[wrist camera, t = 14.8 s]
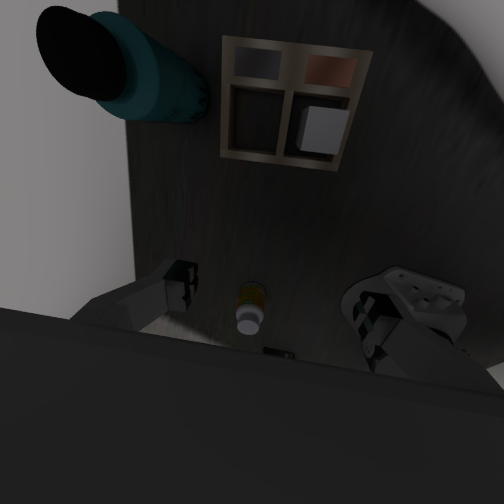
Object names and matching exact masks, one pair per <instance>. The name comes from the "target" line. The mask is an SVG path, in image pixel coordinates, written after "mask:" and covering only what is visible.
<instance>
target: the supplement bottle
mask: <svg viewBox="0 0 504 504" xmlns="http://www.w3.org/2000/svg"><path fill="white" fill-rule="evenodd" d="M264 303H265V290H264V288H263V287H262V286H261V285H259V284H257V283H247V284H245V285H244V286H243V287H242V288H241V292H240V296H239V301H238V306H237V310H236V317H237V320H238V324H237V328H238V330H239V331H240V332H241V333H243V334H247V335H252V334H255V333H257V332H258V330H259V324H260V323H261V322H262V320H263V317H264Z"/></svg>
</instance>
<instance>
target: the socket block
mask: <svg viewBox="0 0 504 504" xmlns="http://www.w3.org/2000/svg"><path fill="white" fill-rule="evenodd" d="M372 54H373V51H365V50H356V49H346V48H337V47H328V46H318V45H309V44H299V43H290V42H281V41H271V40H262V39H253V38H243V37H234V36H225V35H222V84H221V136H220V157H224V158H232V159H240V160H248V161H256V162H264V163H272V164H280V165H288V166H296V167H304V168H312V169H320V170H328V171H336V172H337V171H338V167H339V164H340V161H341V157H342V154H343V151H344V147H345V144H346V141H347V137H348V134H349V131H350V127H351V124H352V121H353V117H354V114H355V111H356V108H357V104H358V101H359V98H360V94H361V91H362V88H363V84H364V81H365V78H366V74H367V71H368V68H369V64H370V61H371V58H372ZM236 89H241V90H250V91H259V92H267V93H276V94H284V99H283V106H282V113H281V120H280V127H279V133H278V140H277V147H276V152H268V151H260V150H252V149H244V148H235V147H233V133H234V112H235V91H236ZM293 95H294V96H302V97H311V98H320V99H329V100H337V101H341V104H340V107H339V109H340V110H349V111H350V113H349V117H348V120H347V123H346V127H345V130H344V134H343V137H342V141H341V144H340V148H339V151H338V154H337V155H334V154H327V156H326V159H325V158H316V157H308V156H300V155H292V154H284V148H285V142H286V136H287V130H288V124H289V118H290V112H291V106H292V100H293Z"/></svg>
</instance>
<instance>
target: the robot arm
mask: <svg viewBox="0 0 504 504" xmlns="http://www.w3.org/2000/svg"><path fill="white" fill-rule="evenodd" d="M197 271H198V264H197V263H194V262H188V261H183V260H177V259H171V258H166V259H165V260H164V261H163V262H162V263H161V264H160V266H159V267H158V268H157V269H156V270H155V271H154V273H153V274H152V275H151V276H150V277H144V278H142V279H139V280H137V281H135V282H132V283H130V284H127V285H125V286H122V287H120V288H117V289H115V290H112V291H110V292H107V293H105V294H102V295H100V296H98V297H95V298H93V299H91V300H90V301H89V302H88V303H87V304H86V305H85V306H83V307H82V308H81V309H80V310H79V311H78V312H77V313H76V314H75V315H74V316H73V317H72V318H70V319H69V320H68V319H63V318H57V317H51V316H45V315H39V314H34V313H28V312H22V311H17V310H11V309H5V308H0V504H504V390H503V389H502V388H501V386H500V385H499V384H498V383H497V382H496V381H495V379H494V378H493V377H492V376H491V375H490V374H489V372H488V371H487V370H486V369H485V368H484V366H482V365H481V364H479V363H478V362H477V361H475V360H474V359H472V358H471V357H469V356H470V355H469V354H468V355H466V354H465V352H466V350H465V349H463V350H462V351H461V350H459V349H458V348H456V347H455V346H454V342H455V341H456V340H457V338H458V337H459V336H460V334H461V333H462V332H463V330H464V329H465V326H466V323H467V316H466V314H465V312H464V311H463V309H462V308H461V306H462V304H463V301H464V298H465V291H464V290H463V289H462V288H461V287H459V286H456V285H453V284H450V283H447V282H444V281H441V280H438V279H435V278H432V277H429V276H426V275H423V274H420V273H416V272H413V271H410V270H407V269H404V268H401V267H397V266H395V267H391V268H389V269H387V270H386V271H384V272H383V273H381V274H380V275H377V276H374V277H371V278H368V279H365V280H363V281H360V282H358V283H357V284H355V285H354V286H352V287H351V288H350V289H349V290H348V291H347V292H346V293H345V295H344V296H343V298H342V301H341V311H342V313H343V315H344V316H345V318H346V319H347V320H348V321H349V323H350V324H351V326H352V327H353V329H354V330H355V332H356V334H357V336H358V337H359V339H360V341H361V346H362V349H363V352H364V355H365V358H366V360H367V363H368V365H369V368H370V370H371V372H372V373H371V372H366V371H360V370H354V369H349V368H343V367H337V366H332V365H326V364H320V363H314V362H309V361H303V360H297V359H292V358H286V357H280V356H274V355H269V354H263V353H257V352H251V351H246V350H240V349H234V348H229V347H223V346H217V345H211V344H206V343H200V342H194V341H188V340H183V339H177V338H171V337H166V336H160V335H154V334H148V333H143V332H138V331H140V330H141V329H143V328H144V327H146V326H147V325H148V324H150V323H151V322H153V321H154V320H155V319H157V318H158V317H160V316H161V315H163V314H164V313H165V312H167V311H168V310H175V311H182V312H186V311H187V309H188V307H189V305H190V303H191V297H192V296H194V295H195V293H196V290H197V287H198V276H197V275H196V273H197ZM400 274H401V275H400Z"/></svg>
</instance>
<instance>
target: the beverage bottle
mask: <svg viewBox="0 0 504 504" xmlns="http://www.w3.org/2000/svg"><path fill="white" fill-rule="evenodd" d="M36 38H37V44H38V48H39V51H40V54H41V57H42V59H43V61H44V63H45V65H46V67H47V68H48V70H49V71H50V73H51V74H52V76H53V77H54V78H55V79H56V80H57V81H58V82H59V83H60V84H61V85H62V86H63V87H65V88H66V89H67V90H69V91H71V92H73V93H75V94H77V95H80V96H84V97H88V98H90V99H93V100H96V102H97V103H98V104H99V105H100V106H101V107H103V108H104V109H105V110H106V111H108V112H109V113H111V114H112V115H114V116H116V117H119V118H121V119H124V120H141V121H142V120H146V121H153V122H152V123H155V122H154V121H160V122H161V121H162V122H163V121H165V123H167V122H170V123H172V122H177V123H178V122H179V123H180V122H185V123H180V124H187V122H192V123H193V121H196V120H198V119H201V118H200V117H201V116H202V115H203V114H204V112H205V110H206V109H207V108H206V107H207V102H208V92H207V89H208V88H207V87H206V84H205V81H204V79H203V78H204V77H203V78H202V76H201V73H199V71H197V70H198V69H197V70H196V69H195V68H194V67H192V66H191V65H190V63H189V64H188V63H187V62H186V61H185V60H183V58H181V57H179V56H180V55H179V56H178V55H176V54H175V53H174V51H171V50H169V49H167V48H166V47H164V46H163V45H161V44H160V43H159V42H157V41H156V40H154V39H153V38H152V37H150V36H149V35H148V34H146V33H145V32H143V31H142V30H141V29H139V28H138V27H137V26H136V25H135V24H134V23H132V22H131V21H130V20H128V19H127V18H125V17H124V16H122V15H120V14H117V13H114V12H108V11H103V12H97V13H94V14H92V15H91V16H87V15H85V14H82V13H78V12H76V11H74V10H71V9H69V8H67V7H63V6H51V7H48V8H47V9H45V10H44V11H43V12H42V13H41V15H40V16H39V19H38V22H37V27H36ZM166 121H167V122H166ZM143 122H144V121H143ZM150 123H151V122H150ZM157 123H159V122H157ZM188 124H189V123H188Z"/></svg>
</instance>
